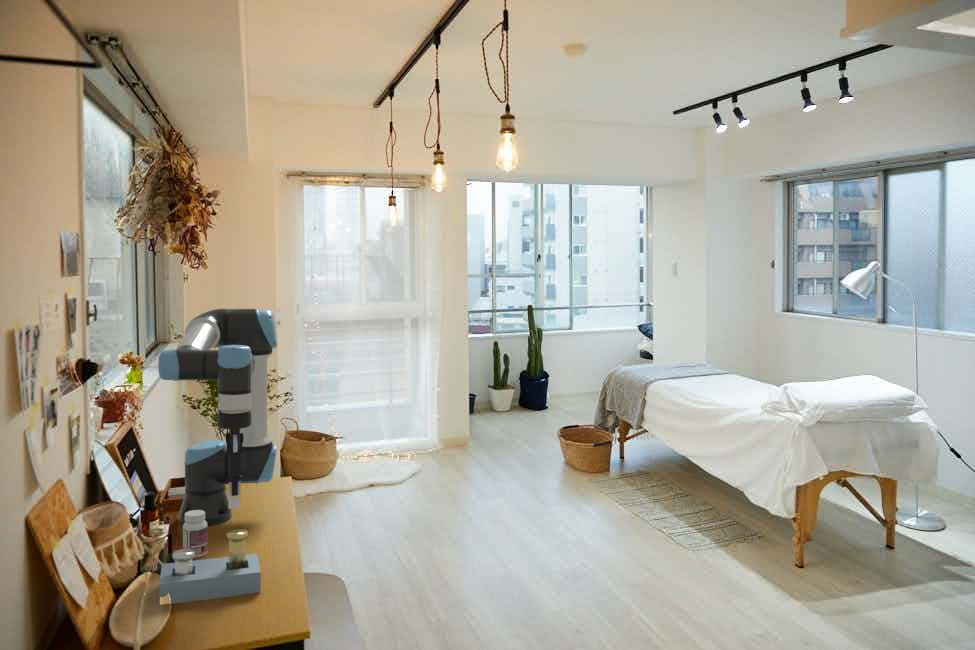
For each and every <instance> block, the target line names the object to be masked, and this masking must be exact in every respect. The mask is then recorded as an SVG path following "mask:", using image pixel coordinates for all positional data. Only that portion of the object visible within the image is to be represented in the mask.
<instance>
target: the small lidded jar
mask: <svg viewBox="0 0 975 650" xmlns="http://www.w3.org/2000/svg"><path fill="white" fill-rule="evenodd" d="M194 556H195V551H194V550H192V549H183V548H181V549H177V550H175V551H173V552H172V561H174V563H175V576H182V575H191V574H192V561H193V559H194V558H193V557H194Z"/></svg>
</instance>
